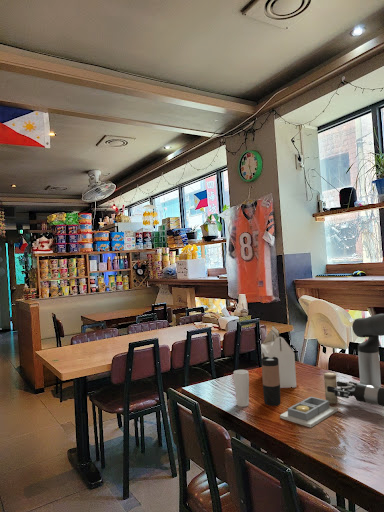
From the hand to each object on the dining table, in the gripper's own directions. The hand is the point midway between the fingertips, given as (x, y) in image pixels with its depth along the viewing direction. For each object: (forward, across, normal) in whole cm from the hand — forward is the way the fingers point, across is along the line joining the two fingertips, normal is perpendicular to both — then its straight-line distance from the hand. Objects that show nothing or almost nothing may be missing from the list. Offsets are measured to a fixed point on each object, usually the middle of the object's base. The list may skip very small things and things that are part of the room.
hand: (332, 386), depth 171 cm
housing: (+1, +18, +7) cm, 20 cm away
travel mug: (+20, +18, +7) cm, 28 cm away
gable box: (+36, -9, +7) cm, 38 cm away
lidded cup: (+1, 0, +7) cm, 7 cm away
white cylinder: (+29, +28, +7) cm, 41 cm away
